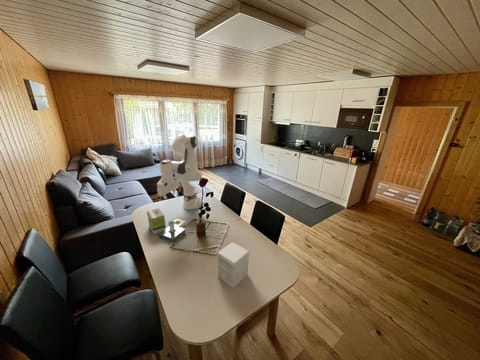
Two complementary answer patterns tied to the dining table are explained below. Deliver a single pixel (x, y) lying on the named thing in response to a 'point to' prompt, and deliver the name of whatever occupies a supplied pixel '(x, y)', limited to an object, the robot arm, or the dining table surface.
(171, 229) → the plug peg
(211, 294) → the dining table surface
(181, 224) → the holster
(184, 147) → the robot arm
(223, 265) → the supplement box
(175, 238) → the port block
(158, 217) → the tea box
